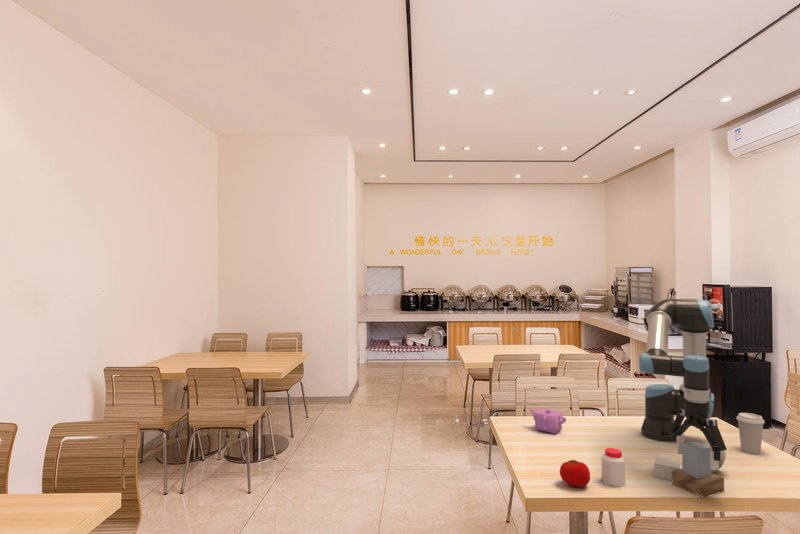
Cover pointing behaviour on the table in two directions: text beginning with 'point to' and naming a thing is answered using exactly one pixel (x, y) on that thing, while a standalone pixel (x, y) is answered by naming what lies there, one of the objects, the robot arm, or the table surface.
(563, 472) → the tomato
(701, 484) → the walnut block
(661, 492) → the table surface
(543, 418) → the teapot
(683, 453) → the slate block
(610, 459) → the pill bottle
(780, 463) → the table surface
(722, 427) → the table surface
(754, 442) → the coffee cup
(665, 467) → the grey block
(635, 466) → the table surface
